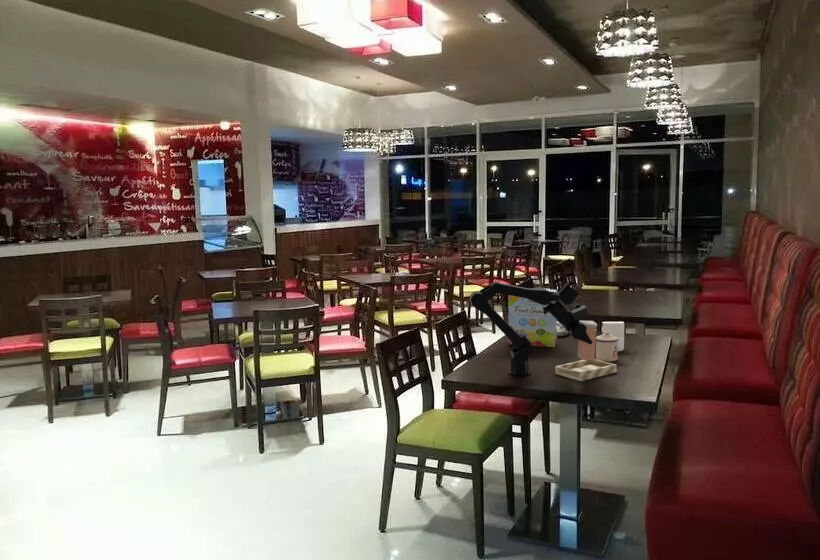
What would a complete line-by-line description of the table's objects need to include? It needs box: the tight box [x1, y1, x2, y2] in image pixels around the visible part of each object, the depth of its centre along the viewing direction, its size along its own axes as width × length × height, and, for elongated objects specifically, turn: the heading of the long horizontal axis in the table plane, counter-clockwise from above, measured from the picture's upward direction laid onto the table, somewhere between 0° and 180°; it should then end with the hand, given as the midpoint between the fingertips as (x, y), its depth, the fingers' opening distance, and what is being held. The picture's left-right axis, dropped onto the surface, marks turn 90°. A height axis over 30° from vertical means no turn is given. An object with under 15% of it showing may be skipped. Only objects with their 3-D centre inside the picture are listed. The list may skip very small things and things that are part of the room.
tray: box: [554, 358, 618, 382], centre depth 261 cm, size 20×13×3 cm, turn 124°
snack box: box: [507, 288, 558, 348], centre depth 309 cm, size 22×9×26 cm, turn 72°
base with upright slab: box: [602, 321, 625, 352], centre depth 297 cm, size 9×9×12 cm
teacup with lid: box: [595, 332, 619, 362], centre depth 282 cm, size 12×9×12 cm
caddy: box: [577, 320, 598, 361], centre depth 259 cm, size 6×7×14 cm
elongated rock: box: [557, 321, 570, 337], centre depth 339 cm, size 35×5×10 cm
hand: (589, 341), depth 259 cm, fingers closed on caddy, 6 cm apart
